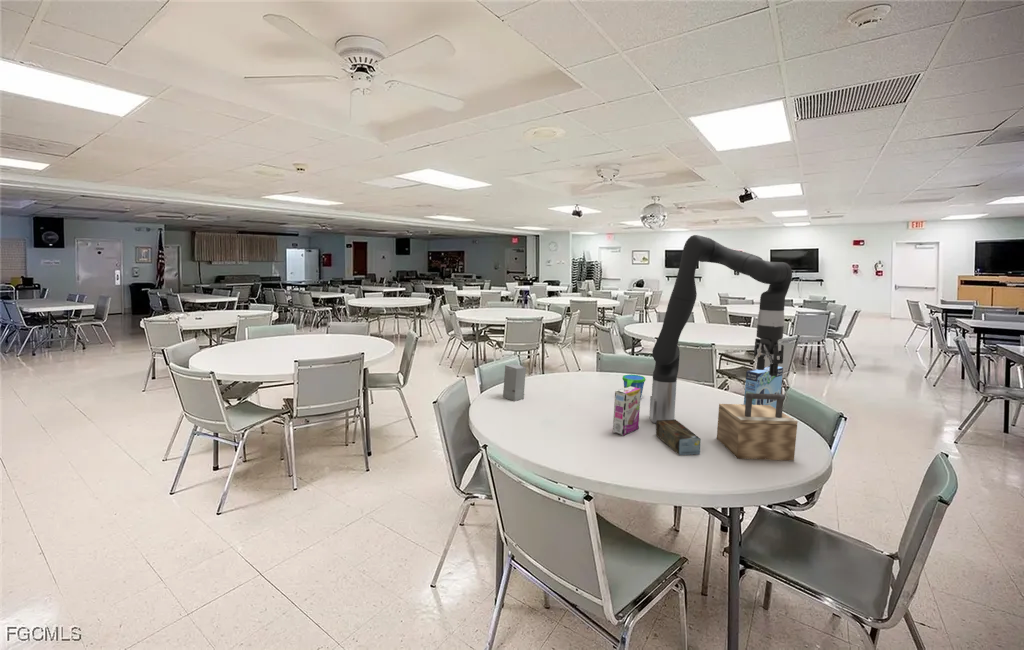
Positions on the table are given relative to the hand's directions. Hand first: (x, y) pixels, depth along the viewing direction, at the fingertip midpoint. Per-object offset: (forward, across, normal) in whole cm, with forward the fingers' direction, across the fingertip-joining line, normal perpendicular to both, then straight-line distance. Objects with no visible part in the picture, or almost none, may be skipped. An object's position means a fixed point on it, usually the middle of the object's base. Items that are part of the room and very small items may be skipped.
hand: (766, 372), depth 152 cm
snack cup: (+28, -66, -29) cm, 77 cm away
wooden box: (+28, -5, 0) cm, 29 cm away
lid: (+16, -5, 0) cm, 17 cm away
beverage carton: (+29, -7, -26) cm, 39 cm away
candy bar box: (+28, -19, -41) cm, 53 cm away
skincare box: (+28, -59, -86) cm, 108 cm away
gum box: (+28, -32, +15) cm, 45 cm away
